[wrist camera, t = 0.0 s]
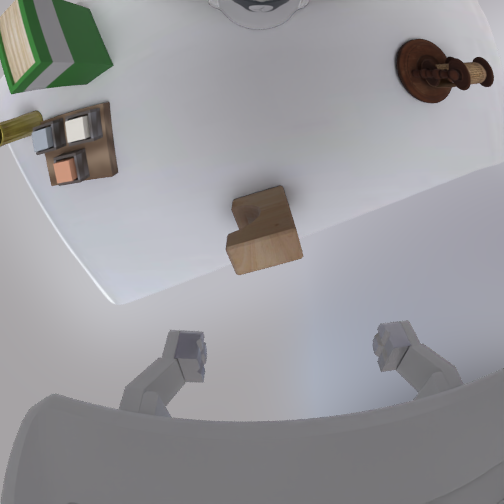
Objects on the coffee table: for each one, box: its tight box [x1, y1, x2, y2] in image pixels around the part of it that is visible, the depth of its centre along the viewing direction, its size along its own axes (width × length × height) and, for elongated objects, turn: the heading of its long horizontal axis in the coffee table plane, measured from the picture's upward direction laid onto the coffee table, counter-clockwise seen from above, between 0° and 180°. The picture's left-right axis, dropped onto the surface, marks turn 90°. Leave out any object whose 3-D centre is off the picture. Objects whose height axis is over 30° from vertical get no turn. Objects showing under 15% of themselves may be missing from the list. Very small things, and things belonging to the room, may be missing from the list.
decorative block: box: [226, 186, 303, 275], centre depth 51 cm, size 11×6×20 cm, turn 107°
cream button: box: [65, 115, 91, 143], centre depth 43 cm, size 4×4×3 cm
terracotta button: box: [53, 157, 78, 184], centre depth 47 cm, size 4×4×3 cm
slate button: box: [32, 126, 54, 152], centre depth 43 cm, size 4×4×3 cm
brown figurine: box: [397, 39, 494, 103], centre depth 34 cm, size 15×15×20 cm
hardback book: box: [0, 0, 113, 94], centre depth 29 cm, size 18×7×24 cm, turn 22°
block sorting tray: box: [33, 102, 118, 186], centre depth 48 cm, size 16×18×7 cm
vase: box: [0, 111, 43, 146], centre depth 41 cm, size 6×6×14 cm
